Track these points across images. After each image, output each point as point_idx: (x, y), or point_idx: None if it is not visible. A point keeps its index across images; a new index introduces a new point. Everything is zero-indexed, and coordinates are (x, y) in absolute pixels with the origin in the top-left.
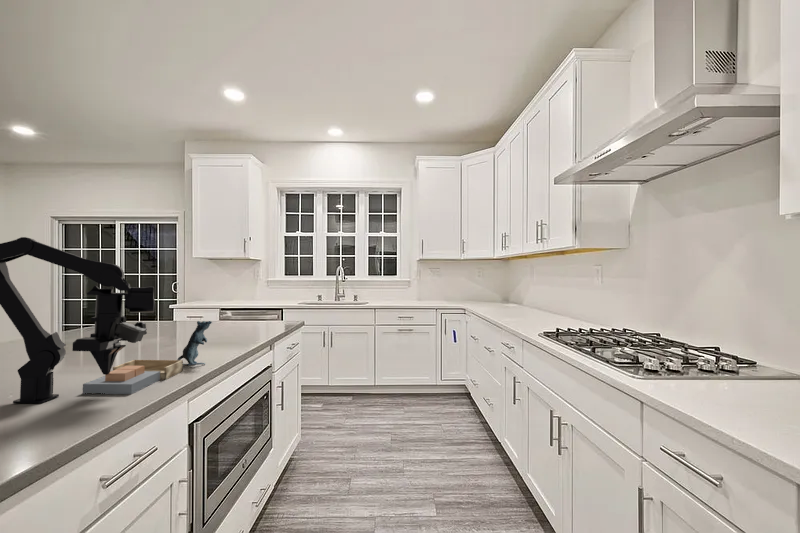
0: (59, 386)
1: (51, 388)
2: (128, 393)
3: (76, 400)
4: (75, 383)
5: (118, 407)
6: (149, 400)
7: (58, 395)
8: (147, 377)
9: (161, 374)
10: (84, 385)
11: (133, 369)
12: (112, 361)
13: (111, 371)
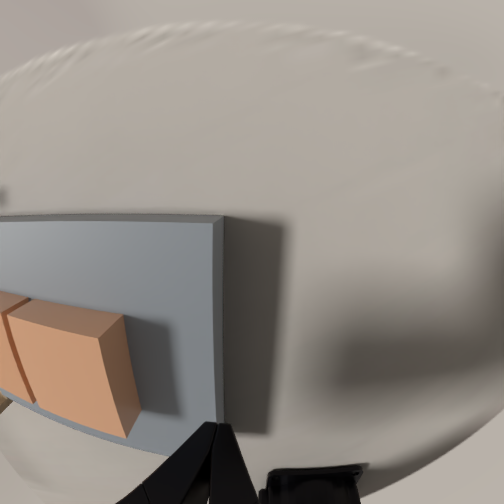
0: None
1: (302, 501)
2: (222, 234)
3: (335, 408)
4: (96, 466)
5: (475, 172)
6: (367, 62)
7: (275, 473)
8: (28, 221)
9: None
10: None
11: (5, 325)
12: (174, 487)
13: (79, 420)
